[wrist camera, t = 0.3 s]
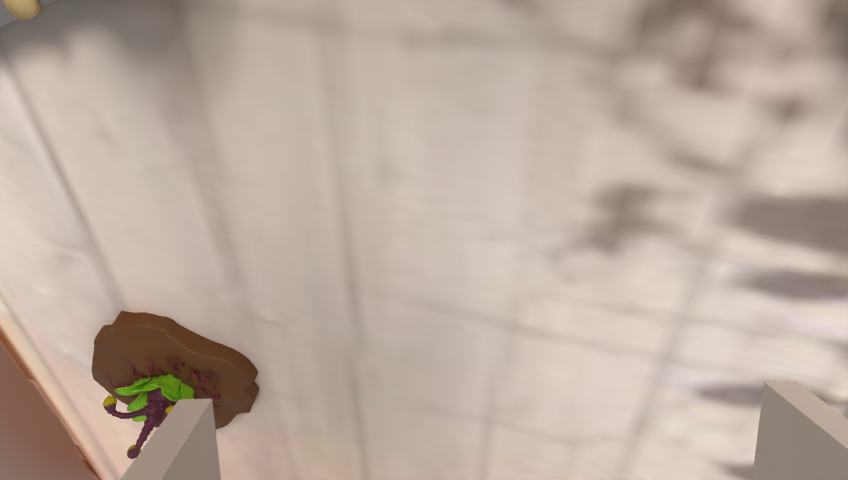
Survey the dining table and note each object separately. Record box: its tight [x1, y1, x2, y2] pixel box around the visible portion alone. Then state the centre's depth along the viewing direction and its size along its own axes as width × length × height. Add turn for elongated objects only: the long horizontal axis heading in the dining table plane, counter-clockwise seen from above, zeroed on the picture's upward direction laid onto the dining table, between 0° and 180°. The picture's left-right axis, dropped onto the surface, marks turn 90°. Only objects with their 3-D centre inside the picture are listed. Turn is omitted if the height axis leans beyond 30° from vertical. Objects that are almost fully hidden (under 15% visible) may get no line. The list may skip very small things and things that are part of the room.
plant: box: [92, 311, 259, 459], centre depth 72 cm, size 20×20×11 cm
